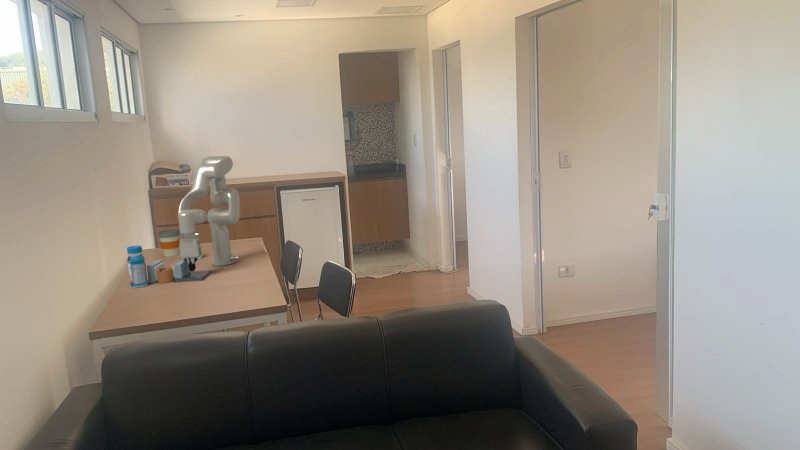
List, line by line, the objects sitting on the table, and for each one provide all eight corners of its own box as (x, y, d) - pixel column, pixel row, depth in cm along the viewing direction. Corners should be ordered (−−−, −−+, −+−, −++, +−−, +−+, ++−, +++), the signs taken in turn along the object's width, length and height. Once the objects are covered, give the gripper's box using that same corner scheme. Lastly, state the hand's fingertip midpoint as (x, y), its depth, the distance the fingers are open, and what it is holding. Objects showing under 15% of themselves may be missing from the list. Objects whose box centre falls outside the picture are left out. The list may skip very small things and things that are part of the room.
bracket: (171, 283, 311) (170, 270, 310) (155, 284, 311) (153, 271, 310) (183, 274, 329) (182, 262, 328) (168, 275, 329) (166, 263, 328)
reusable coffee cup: (174, 252, 394) (171, 229, 391) (186, 253, 386) (183, 230, 384) (156, 256, 384) (153, 232, 381) (168, 258, 376) (165, 233, 374)
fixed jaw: (166, 276, 327) (164, 259, 326) (157, 282, 314) (155, 265, 313) (158, 276, 327) (156, 260, 326) (148, 283, 314) (146, 265, 313)
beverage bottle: (140, 288, 304) (134, 248, 301) (126, 287, 307) (121, 248, 304) (152, 283, 312) (147, 244, 309) (139, 283, 315) (133, 244, 312)
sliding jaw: (190, 271, 327) (188, 258, 326) (181, 277, 314) (180, 264, 313) (182, 272, 327) (180, 259, 326) (173, 278, 314) (171, 265, 313)
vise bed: (211, 272, 328) (210, 270, 328) (201, 280, 313) (201, 277, 312) (185, 274, 329) (185, 271, 328) (174, 282, 313) (174, 279, 313)
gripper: (205, 233, 321) (209, 268, 324) (176, 235, 321) (180, 269, 324) (200, 236, 313) (204, 271, 316) (171, 238, 313) (175, 273, 316)
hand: (192, 270), depth 320 cm, fingers closed
